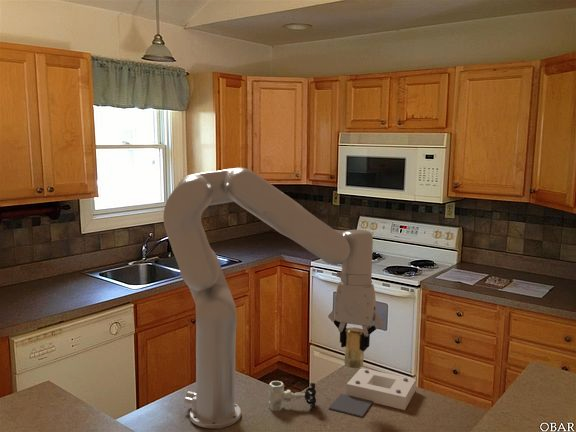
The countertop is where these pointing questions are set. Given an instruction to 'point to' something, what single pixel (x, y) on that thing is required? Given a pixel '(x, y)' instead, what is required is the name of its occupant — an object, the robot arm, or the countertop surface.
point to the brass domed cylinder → (353, 347)
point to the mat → (351, 405)
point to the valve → (288, 395)
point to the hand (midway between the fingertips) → (354, 346)
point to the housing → (382, 388)
